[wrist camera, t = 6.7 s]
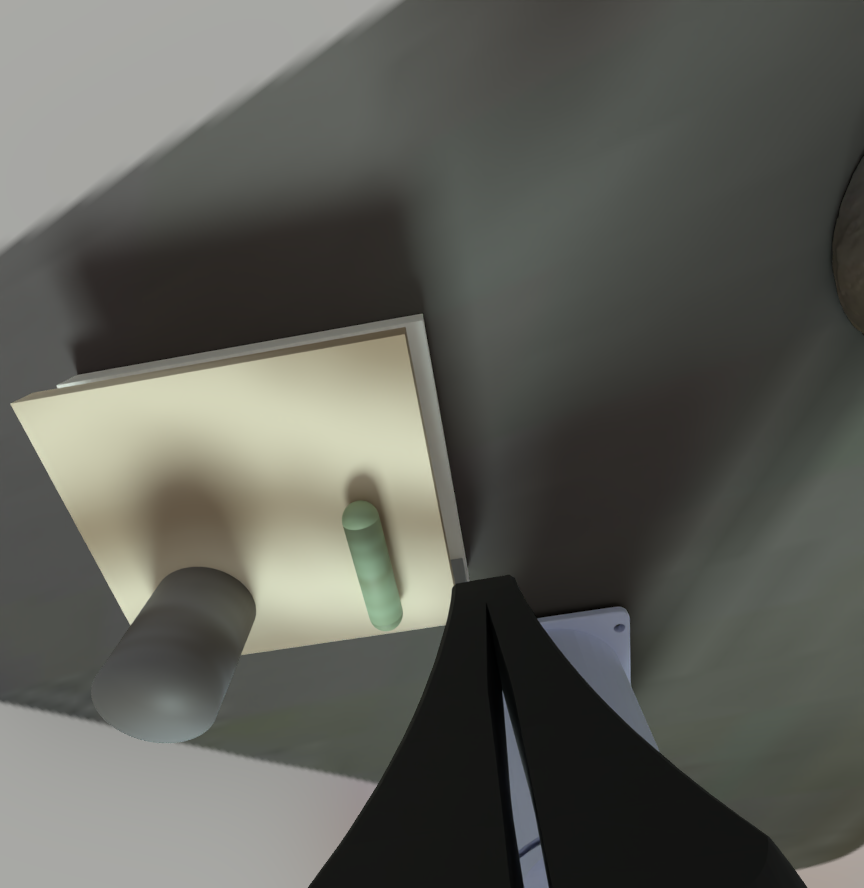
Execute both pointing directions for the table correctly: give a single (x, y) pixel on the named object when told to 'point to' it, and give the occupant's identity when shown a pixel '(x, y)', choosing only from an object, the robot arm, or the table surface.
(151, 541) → the plate
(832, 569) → the table surface
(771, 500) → the table surface
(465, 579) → the stand
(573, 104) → the table surface
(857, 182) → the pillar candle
